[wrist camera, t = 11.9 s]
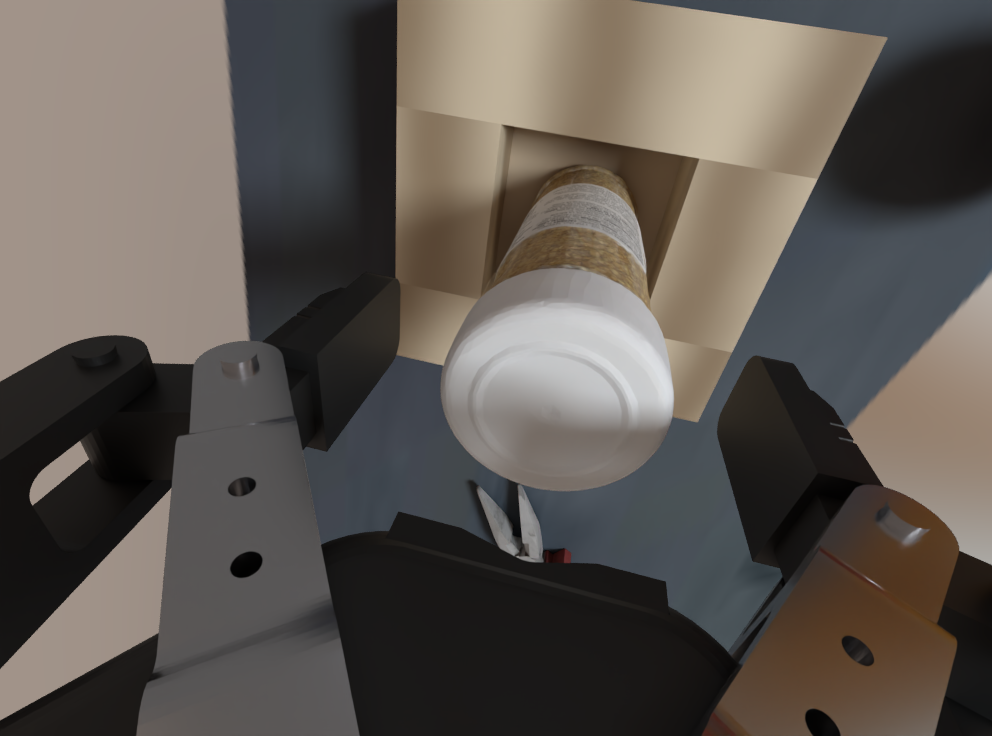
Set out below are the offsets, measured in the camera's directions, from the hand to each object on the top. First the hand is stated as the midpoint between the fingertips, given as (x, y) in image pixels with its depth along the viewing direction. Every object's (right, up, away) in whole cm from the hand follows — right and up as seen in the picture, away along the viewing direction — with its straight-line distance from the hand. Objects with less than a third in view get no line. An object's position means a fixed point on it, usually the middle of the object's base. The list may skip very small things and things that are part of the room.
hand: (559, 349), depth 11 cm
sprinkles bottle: (+2, +6, +9) cm, 11 cm away
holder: (+2, +7, +10) cm, 12 cm away
